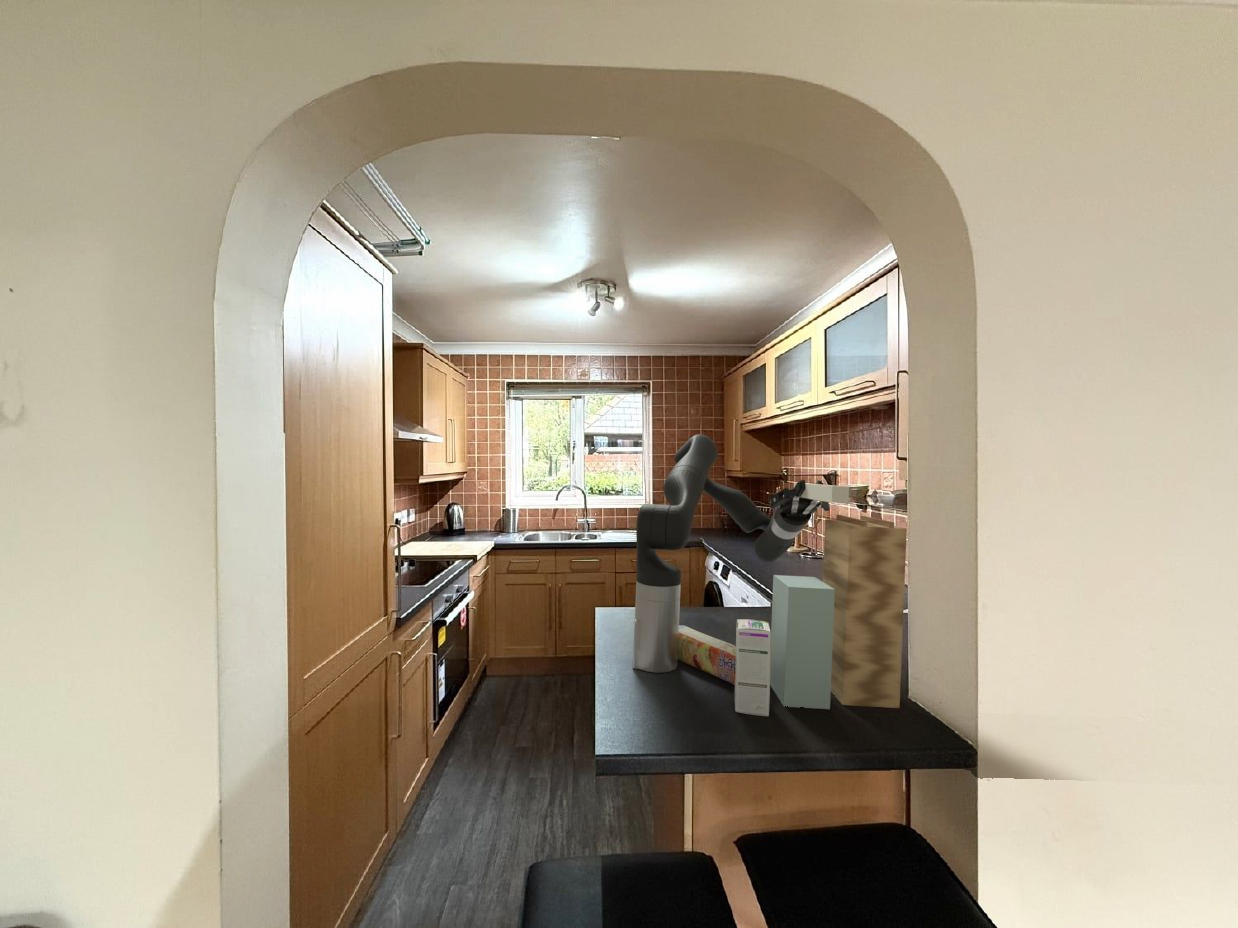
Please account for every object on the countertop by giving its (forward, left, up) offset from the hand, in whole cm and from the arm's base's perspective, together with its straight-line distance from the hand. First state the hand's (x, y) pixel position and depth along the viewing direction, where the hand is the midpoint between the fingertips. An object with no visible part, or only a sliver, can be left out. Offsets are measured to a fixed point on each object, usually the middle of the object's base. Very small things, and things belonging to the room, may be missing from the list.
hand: (812, 484), depth 108 cm
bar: (0, -4, -3) cm, 5 cm away
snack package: (-20, -3, -39) cm, 44 cm away
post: (-5, -13, -39) cm, 41 cm away
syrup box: (-15, -19, -39) cm, 46 cm away
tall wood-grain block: (+7, -10, -39) cm, 41 cm away
